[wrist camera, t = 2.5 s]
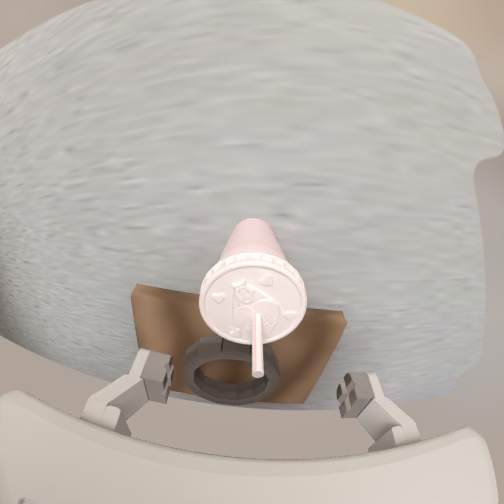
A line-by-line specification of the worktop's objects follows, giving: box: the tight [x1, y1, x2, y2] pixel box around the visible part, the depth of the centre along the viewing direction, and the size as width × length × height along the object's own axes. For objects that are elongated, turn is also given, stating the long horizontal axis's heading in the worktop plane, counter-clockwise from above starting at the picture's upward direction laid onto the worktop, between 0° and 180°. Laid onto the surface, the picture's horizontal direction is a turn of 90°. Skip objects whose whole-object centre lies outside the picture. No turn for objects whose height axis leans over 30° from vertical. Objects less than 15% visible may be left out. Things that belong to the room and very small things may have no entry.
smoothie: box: [199, 218, 307, 378], centre depth 18 cm, size 6×6×14 cm
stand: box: [131, 284, 347, 405], centre depth 29 cm, size 22×16×4 cm
